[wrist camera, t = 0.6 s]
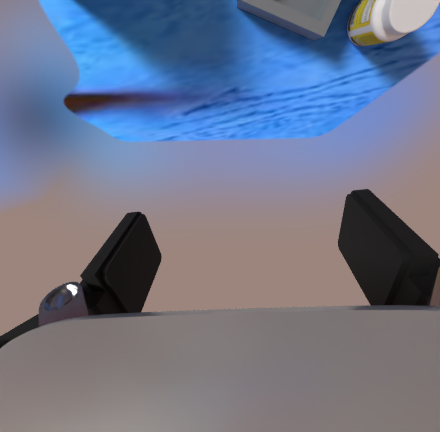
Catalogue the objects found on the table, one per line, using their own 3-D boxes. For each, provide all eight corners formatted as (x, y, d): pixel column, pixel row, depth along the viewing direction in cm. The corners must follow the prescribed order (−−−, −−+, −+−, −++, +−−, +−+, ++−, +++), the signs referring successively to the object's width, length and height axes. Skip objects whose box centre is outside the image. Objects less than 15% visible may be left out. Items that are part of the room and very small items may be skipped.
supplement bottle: (393, 30, 26) (449, 16, 19) (351, 55, 28) (389, 51, 21) (386, -19, 24) (447, -54, 17) (341, 11, 26) (380, -10, 19)
